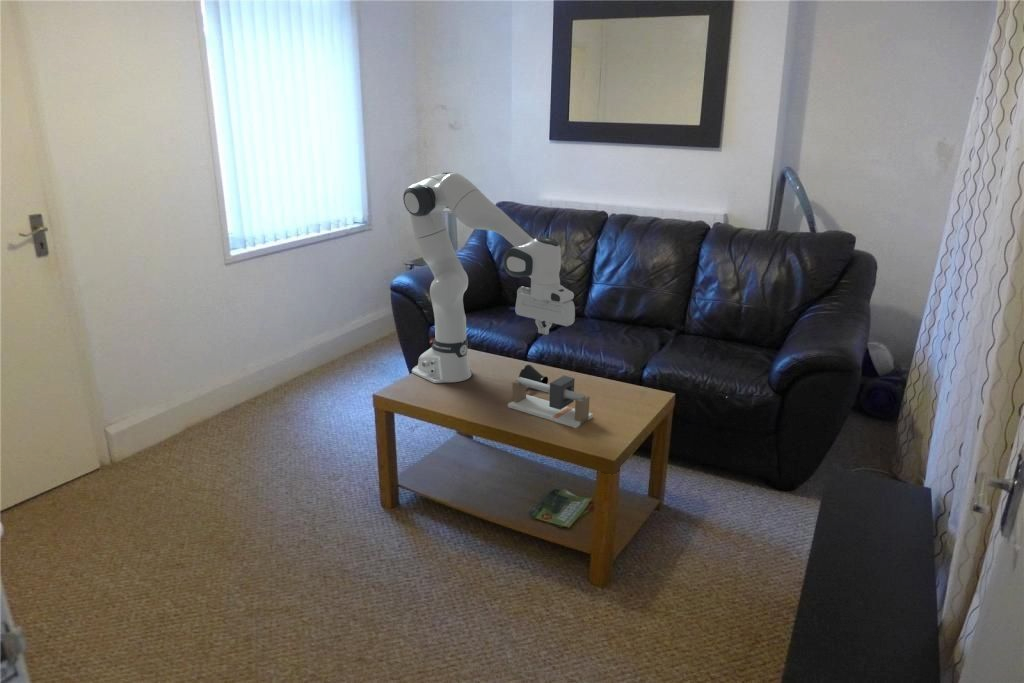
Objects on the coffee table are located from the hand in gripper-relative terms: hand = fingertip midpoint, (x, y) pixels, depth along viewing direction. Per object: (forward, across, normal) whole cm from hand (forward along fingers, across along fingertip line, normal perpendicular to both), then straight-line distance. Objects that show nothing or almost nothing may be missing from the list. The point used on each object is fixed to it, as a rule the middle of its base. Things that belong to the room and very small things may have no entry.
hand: (543, 333), depth 220 cm
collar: (+22, +8, 0) cm, 23 cm away
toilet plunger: (+27, -13, +10) cm, 31 cm away
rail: (+26, +3, 0) cm, 26 cm away
